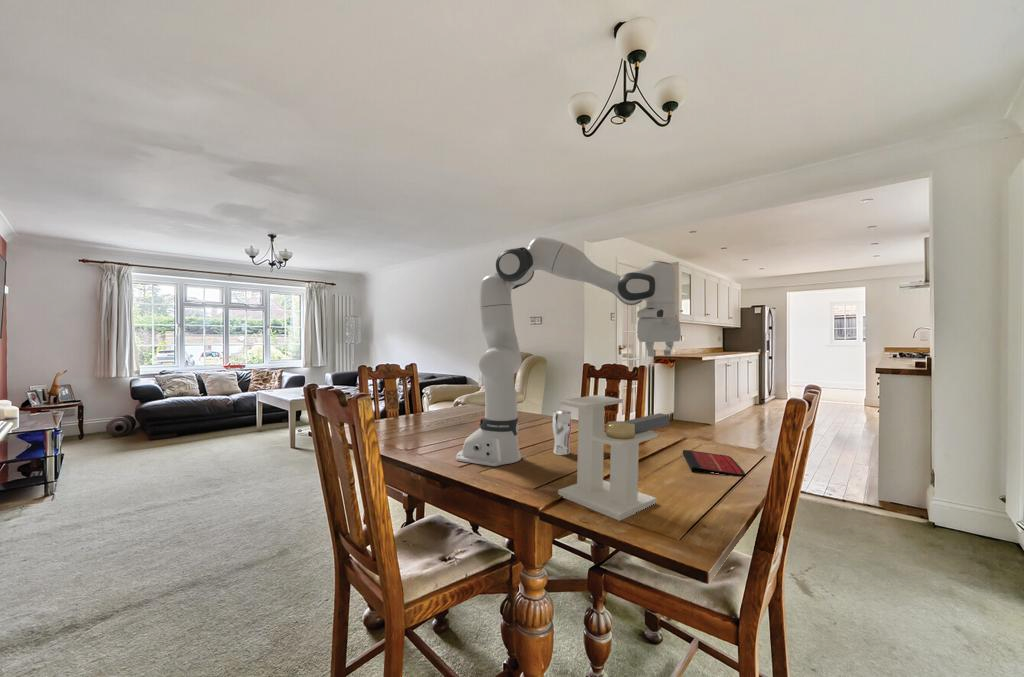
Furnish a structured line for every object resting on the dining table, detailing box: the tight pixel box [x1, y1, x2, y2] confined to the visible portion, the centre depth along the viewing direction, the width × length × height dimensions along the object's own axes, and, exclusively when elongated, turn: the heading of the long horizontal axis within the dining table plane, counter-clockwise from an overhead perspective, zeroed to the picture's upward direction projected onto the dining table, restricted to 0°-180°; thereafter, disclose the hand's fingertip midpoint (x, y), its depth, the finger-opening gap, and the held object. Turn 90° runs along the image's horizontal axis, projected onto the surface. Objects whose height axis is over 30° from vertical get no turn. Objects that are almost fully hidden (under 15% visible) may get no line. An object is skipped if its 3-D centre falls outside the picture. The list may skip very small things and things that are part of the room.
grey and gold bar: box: [605, 412, 670, 439], centre depth 116 cm, size 24×7×3 cm, turn 131°
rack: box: [557, 394, 659, 522], centre depth 116 cm, size 16×20×26 cm
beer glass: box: [552, 409, 573, 456], centre depth 158 cm, size 7×7×15 cm
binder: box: [682, 449, 745, 477], centre depth 147 cm, size 16×2×21 cm
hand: (659, 356), depth 139 cm, fingers open, 8 cm apart
